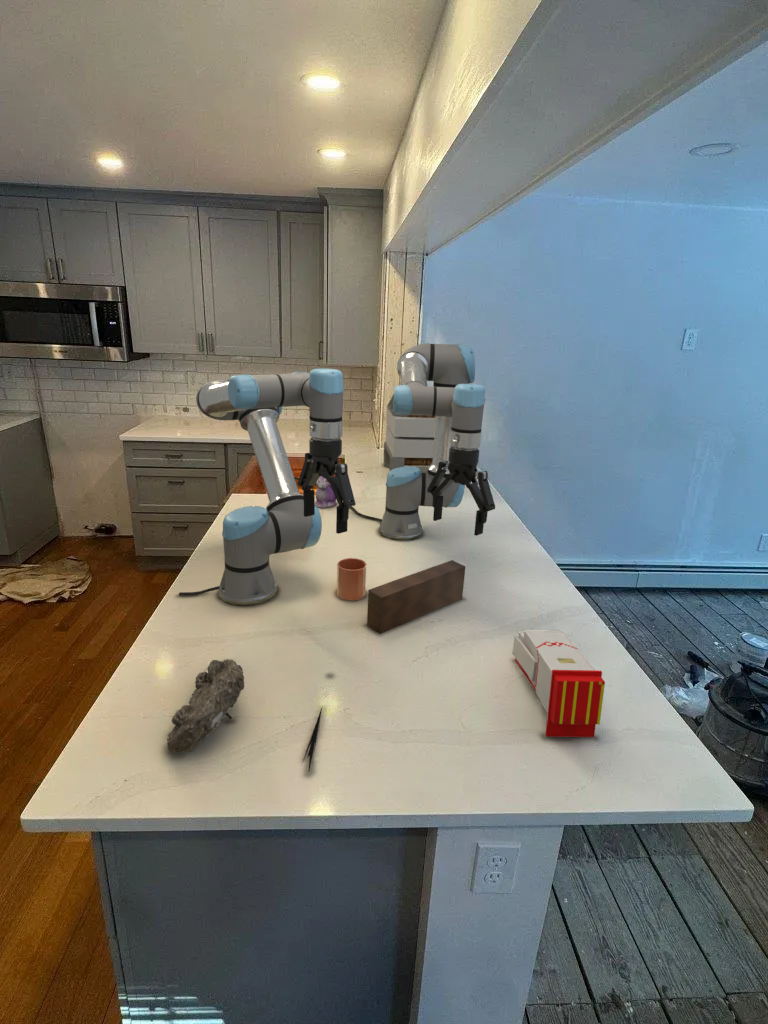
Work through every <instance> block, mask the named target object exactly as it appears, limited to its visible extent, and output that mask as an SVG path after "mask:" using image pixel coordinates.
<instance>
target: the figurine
mask: <svg viewBox="0 0 768 1024" xmlns="http://www.w3.org/2000/svg"><path fill="white" fill-rule="evenodd" d="M315 487H316V488H317V489H316V490H315V500H316V501H315V505H316V506H317V507H318V508H322V509H324V508H330V507H333V506H335V505H336V502H337V500H336V497H335V495H334V492H333V490H332V488H331V485H330V483H329V482H327V480H326V479H325V478H323V477H322V476H320V477H319V479H318V480H317V482H316V486H315Z"/></svg>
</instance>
